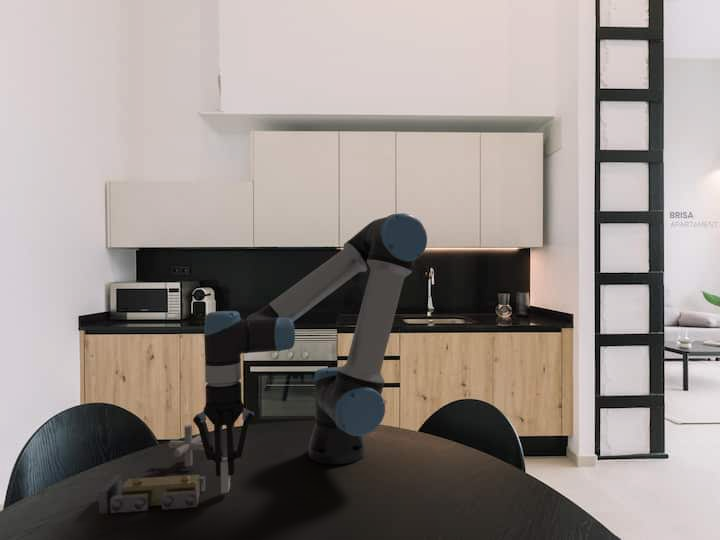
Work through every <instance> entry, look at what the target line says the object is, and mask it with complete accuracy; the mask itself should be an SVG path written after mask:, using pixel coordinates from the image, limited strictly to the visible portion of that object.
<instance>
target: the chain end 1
mask: <svg viewBox="0 0 720 540" xmlns="http://www.w3.org/2000/svg"><path fill="white" fill-rule="evenodd" d="M126 481H127V480H125V481H124V482H123V474H114V475H113V476H112V477H111V478H110V480H108V482H107V483H105V484H104V486H103V487H102V488H101V489H100V490H99V491H98V514H99V515H103V514H105V513H106V514H108V511H109V512H110V514H119V512H121V513H131V512H132V511H133V512H145V511H148V510H149V508H150V506H149V493H145V494H130V495H121V487H122V486H123V485H124V484H125V483H126ZM133 512H132V513H133ZM106 514H105V515H106Z"/></svg>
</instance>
